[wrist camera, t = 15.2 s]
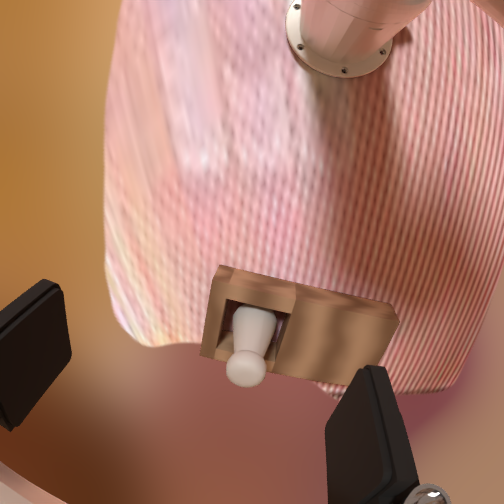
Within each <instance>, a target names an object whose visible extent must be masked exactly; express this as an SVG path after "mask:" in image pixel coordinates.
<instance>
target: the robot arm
mask: <svg viewBox="0 0 504 504" xmlns="http://www.w3.org/2000/svg"><path fill="white" fill-rule="evenodd" d="M470 1H471V2H472V3H474V4H475V5H476V6H478V7H479V8H480V9H481V10H483V11H484V12H485V13H486V14H487V15H489V16H490V17H491V18H492V19H493V20H495V21H496V22H497V23H498V24H499V25H500V26H501V27H502V28H504V0H470ZM431 2H432V0H294V1H293V2H292V4H291V5H290V7H289V9H288V12H287V14H286V21H285V29H286V34H287V39H288V41H289V43H290V46H291V47H292V49H293V50H294V52H295V53H296V55H297V56H298V57H299V58H300V59H301V60H302V61H303V62H304V63H306V64H307V65H309V66H310V67H311V68H313V69H315V70H317V71H319V72H321V73H323V74H326V75H329V76H333V77H339V78H354V77H360V76H363V75H366V74H369V73H371V72H372V71H374V70H376V69H377V68H378V67H379V66H381V65H382V64H383V62H384V61H385V60H386V59H387V57H388V55H389V53H390V51H391V47H392V37H393V36H394V35H396V34H397V33H398V32H399V31H400V30H402V29H403V28H404V27H405V26H406V25H407V24H409V23H410V22H411V21H412V20H413V19H415V18H416V17H417V16H418V15H419V14H420V13H422V12H423V11H424V10H425V9H426V8H427V7H428V6H429V5H430V3H431ZM295 8H298V9H299V10H295ZM300 47H301V48H302V49H303V50H299V49H298V48H300ZM380 52H382V54H383V55H381V54H380ZM342 70H345V73H342ZM71 356H72V351H71V345H70V340H69V334H68V326H67V319H66V311H65V304H64V294H63V291H62V290H61V288H60V286H59V285H58V284H57V283H54V282H52V281H49V280H46V279H42V280H40V281H39V282H38V283H36V284H35V285H34V286H32V287H31V288H30V289H28V290H27V291H26V292H24V293H23V294H22V295H21V296H20V297H18V298H17V299H15V300H14V301H13V302H11V303H10V304H9V305H8V306H6V307H5V308H4V309H3V310H1V311H0V425H1V426H3V427H4V428H6V429H7V430H8V431H10V432H11V431H12V430H13V428H14V427H18V426H19V425H20V424H21V423H22V422H23V420H24V419H25V418H26V416H27V415H28V414H29V412H30V411H31V409H32V408H33V407H34V406H35V404H36V403H37V402H38V400H39V399H40V398H41V397H42V395H43V394H44V393H45V391H46V390H47V389H48V388H49V386H50V385H51V384H52V382H53V381H54V380H55V379H56V378H57V376H58V375H59V374H60V373H61V371H62V370H63V369H64V368H65V366H66V365H67V364H68V362H69V361H70V359H71ZM325 444H326V462H327V486H328V504H451V501H450V498H449V496H448V494H447V493H446V492H445V491H444V490H443V489H442V488H441V487H439V486H437V485H434V484H422V485H420V483H419V479H418V475H417V470H416V466H415V462H414V458H413V454H412V451H411V447H410V443H409V440H408V436H407V432H406V429H405V425H404V422H403V419H402V416H401V413H400V412H399V409H398V405H397V402H396V399H395V395H394V392H393V389H392V386H391V383H390V380H389V377H388V374H387V370H386V368H385V367H382V366H375V365H366V366H364V368H363V369H362V368H359V369H358V370H357V372H356V374H355V376H354V378H353V379H352V381H351V383H350V385H349V386H348V388H347V390H346V392H345V393H344V395H343V397H342V399H341V400H340V402H339V404H338V405H337V407H336V409H335V410H334V412H333V414H332V415H331V417H330V419H329V420H328V422H327V424H326V427H325ZM0 504H67V503H65V502H63V501H61V500H60V499H58V498H56V497H54V496H53V495H51V494H49V493H47V492H46V491H44V490H42V489H40V488H39V487H37V486H35V485H34V484H32V483H31V482H29V481H27V480H26V479H24V478H23V477H21V476H20V475H18V474H17V473H15V472H14V471H12V470H11V469H10V468H8V467H7V466H5V465H4V464H3V463H1V462H0Z"/></svg>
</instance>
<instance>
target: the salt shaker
mask: <svg viewBox="0 0 504 504" xmlns="http://www.w3.org/2000/svg"><path fill="white" fill-rule="evenodd" d="M276 324H277V319H276V316H275V314H274V311H273V310H272V309H268V308H264V307H260V306H255V305H251V304H247V303H245V304H243V305H241V306H240V307H239V308H238V309H237V310H236V312H235V313H234V315H233V338H234V354H233V355H232V356H231V357H230V358H229V359H228V361H227V365H226V375H227V377H228V378H229V380H230V381H231V382H233V383H234V384H236V385H238V386H241V387H254V386H256V385H259V384H260V383H261V382H262V381H263V380H264V378H265V375H266V369H267V365H266V363H265V361H264V359H263V357H264V355H265V353H266V351H267V348H268V346H269V344H270V341H271V339H272V337H273V334H274V332H275V329H276Z"/></svg>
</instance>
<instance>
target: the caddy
mask: <svg viewBox="0 0 504 504" xmlns="http://www.w3.org/2000/svg"><path fill="white" fill-rule="evenodd" d="M228 299H230V300H235V301H239V302H243V303H247V304H251V305H255V306H260V307H264V308H268V309H272V310H277V311H281V312H286V314H285V317H284V320H283V323H282V326H281V329H280V333H279V336H278V339H277V342H273V341H270V344H269V346H268V348H267V351H266V353H265V355H264V357H263V359H264V361H265V363H266V365H267V369H266V372H271V373H276V374H281V375H286V376H291V377H296V378H302V379H308V380H313V381H319V382H326V383H332V384H339V385H346V386H349V385H350V383H351V381H352V379H353V378H354V376H355V374H356V372H357V370H358V369H359V368H362V369H363V368H364V366H366V365H375V366H377V365H378V363H379V361H380V359H381V358H382V356H383V354H384V352H385V350H386V348H387V346H388V344H389V343H390V341H391V339H392V337H393V335H394V333H395V331H396V329H397V327H398V325H399V323H400V321H399V319H398V317H397V315H396V313H395V311H394V309H393V307H392V305H391V304H388V303H383V302H379V301H374V300H370V299H365V298H361V297H356V296H352V295H347V294H343V293H338V292H334V291H329V290H325V289H321V288H316V287H312V286H308V285H303V284H299V283H295V282H290V281H286V280H282V279H278V278H273V277H269V276H265V275H261V274H257V273H252V272H248V271H244V270H240V269H236V268H232V267H228V266H224V265H219V267H218V269H217V271H216V273H215V275H214V277H213V279H212V284H211V290H210V296H209V302H208V308H207V313H206V319H205V326H204V332H203V338H202V344H201V350H200V356H203V357H207V358H211V359H215V360H219V361H223V362H227V361H228V359H229V358H230V357H231V356H232V355H233V354H234V338H233V332H230V331H226V330H222V328H223V323H224V318H225V313H226V309H227V304H228Z"/></svg>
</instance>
